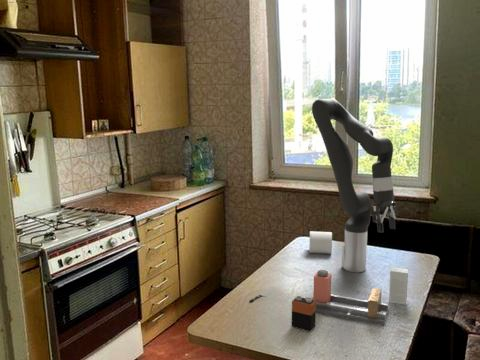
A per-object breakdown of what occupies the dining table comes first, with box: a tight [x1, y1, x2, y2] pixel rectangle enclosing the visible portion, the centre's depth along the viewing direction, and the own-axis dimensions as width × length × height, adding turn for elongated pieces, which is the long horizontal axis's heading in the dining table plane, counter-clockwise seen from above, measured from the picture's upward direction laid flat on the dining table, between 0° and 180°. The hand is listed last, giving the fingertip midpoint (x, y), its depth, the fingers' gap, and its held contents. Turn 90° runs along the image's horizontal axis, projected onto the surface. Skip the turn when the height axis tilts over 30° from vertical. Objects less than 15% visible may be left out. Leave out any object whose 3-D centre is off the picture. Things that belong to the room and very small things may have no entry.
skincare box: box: [388, 266, 409, 305], centre depth 167 cm, size 6×4×12 cm
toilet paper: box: [309, 230, 333, 255], centre depth 218 cm, size 10×10×10 cm
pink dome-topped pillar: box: [312, 269, 332, 303], centre depth 164 cm, size 5×5×11 cm
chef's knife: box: [248, 285, 277, 303], centre depth 175 cm, size 19×1×3 cm
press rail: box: [311, 288, 390, 326], centre depth 161 cm, size 26×12×8 cm, turn 66°
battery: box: [291, 295, 317, 332], centre depth 150 cm, size 4×7×10 cm, turn 60°
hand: (386, 230), depth 181 cm, fingers open, 8 cm apart
